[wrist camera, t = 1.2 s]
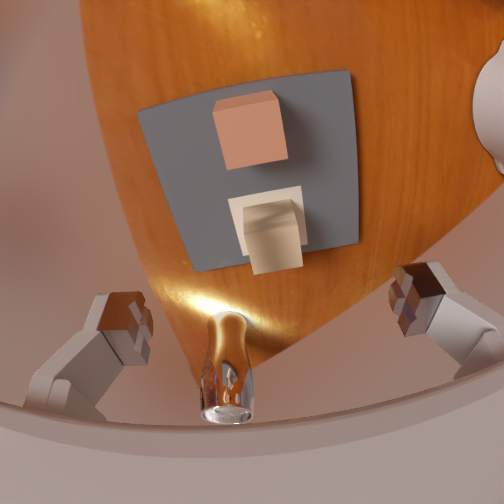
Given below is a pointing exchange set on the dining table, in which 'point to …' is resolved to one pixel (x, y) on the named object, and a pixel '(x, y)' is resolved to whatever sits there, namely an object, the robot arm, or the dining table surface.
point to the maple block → (272, 236)
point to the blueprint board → (259, 167)
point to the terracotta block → (250, 129)
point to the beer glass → (227, 372)
